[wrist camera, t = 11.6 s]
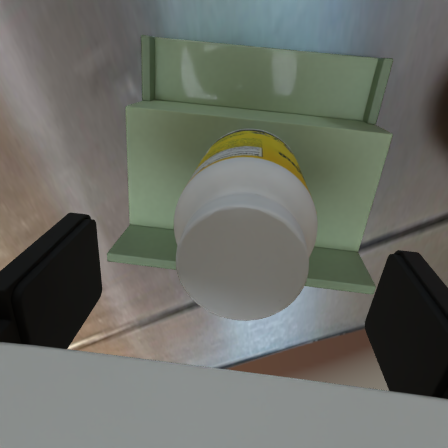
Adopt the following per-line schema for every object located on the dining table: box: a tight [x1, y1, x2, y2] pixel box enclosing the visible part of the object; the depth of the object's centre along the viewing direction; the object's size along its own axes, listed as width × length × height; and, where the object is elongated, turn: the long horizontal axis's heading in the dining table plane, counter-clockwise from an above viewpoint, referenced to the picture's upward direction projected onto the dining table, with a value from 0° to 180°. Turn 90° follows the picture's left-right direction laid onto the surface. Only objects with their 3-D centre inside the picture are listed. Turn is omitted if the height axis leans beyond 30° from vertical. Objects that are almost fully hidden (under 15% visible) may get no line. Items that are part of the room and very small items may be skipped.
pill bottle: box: [174, 129, 318, 321], centre depth 17 cm, size 6×6×11 cm
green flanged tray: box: [107, 35, 393, 294], centre depth 23 cm, size 13×16×11 cm
